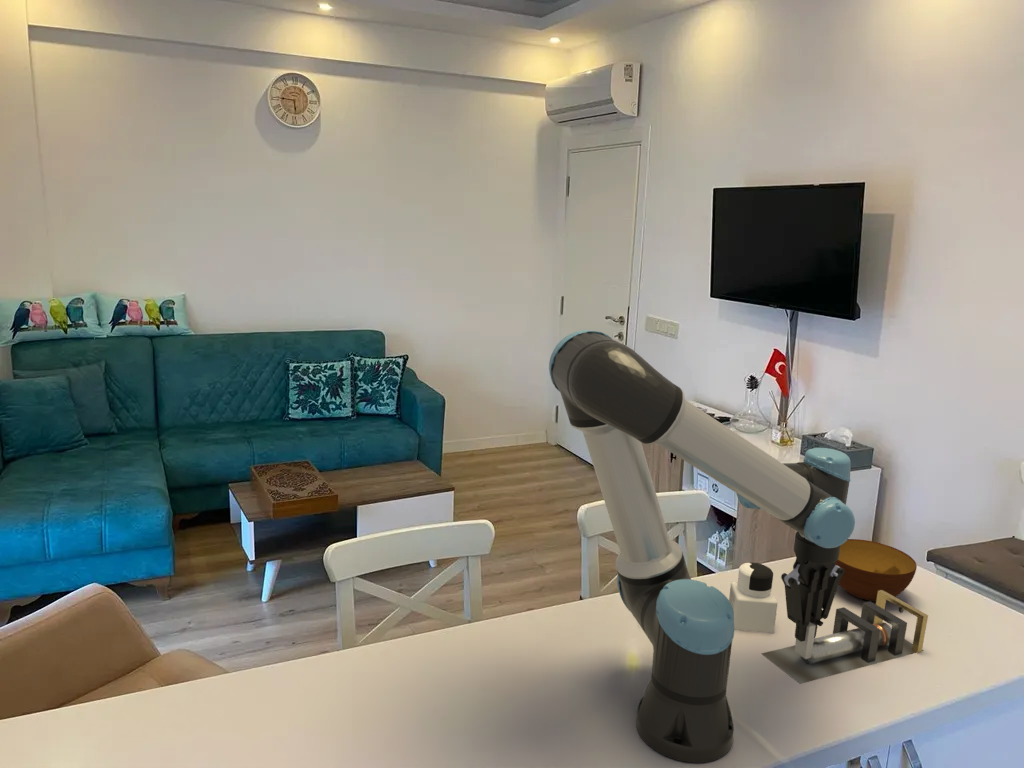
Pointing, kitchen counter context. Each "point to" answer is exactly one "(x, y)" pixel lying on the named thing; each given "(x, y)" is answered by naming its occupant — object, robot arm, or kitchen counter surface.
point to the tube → (844, 643)
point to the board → (827, 662)
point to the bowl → (874, 569)
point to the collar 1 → (870, 630)
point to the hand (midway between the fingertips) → (802, 654)
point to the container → (753, 599)
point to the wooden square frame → (921, 616)
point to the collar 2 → (897, 624)
